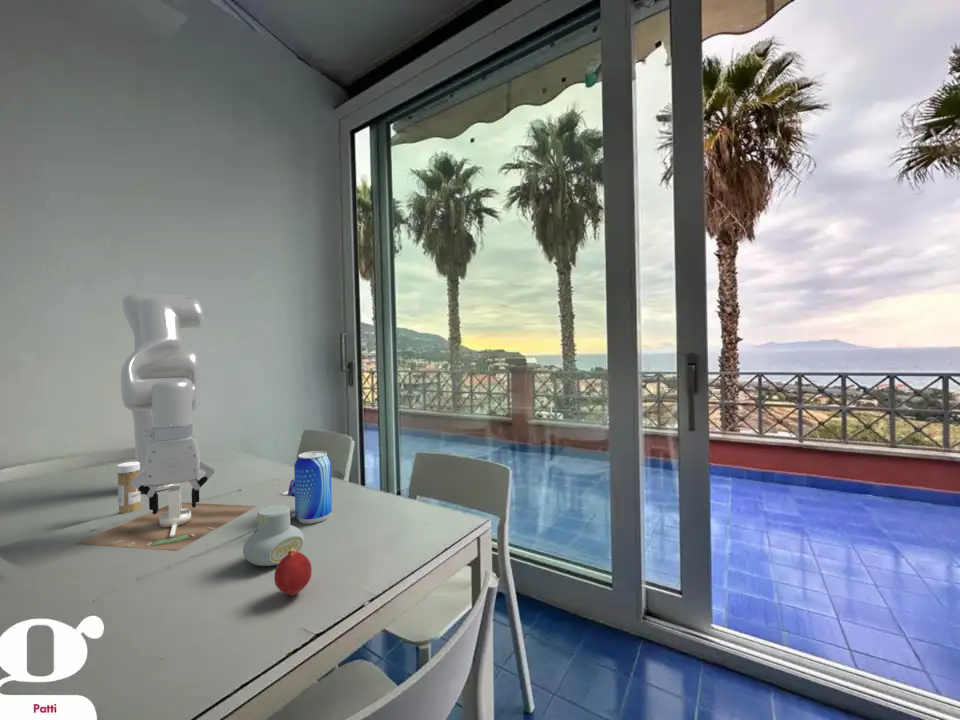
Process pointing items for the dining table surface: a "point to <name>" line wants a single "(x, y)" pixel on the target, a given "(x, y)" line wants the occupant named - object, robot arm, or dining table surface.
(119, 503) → the sprinkles bottle
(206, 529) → the dial board
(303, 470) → the beer can
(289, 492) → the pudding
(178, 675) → the dining table surface
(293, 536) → the air freshener
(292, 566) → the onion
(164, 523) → the tuning knob
